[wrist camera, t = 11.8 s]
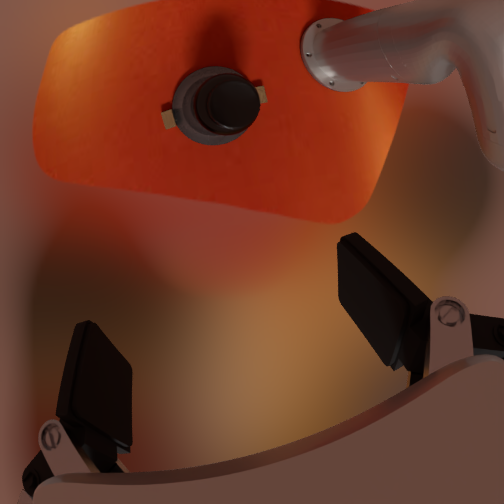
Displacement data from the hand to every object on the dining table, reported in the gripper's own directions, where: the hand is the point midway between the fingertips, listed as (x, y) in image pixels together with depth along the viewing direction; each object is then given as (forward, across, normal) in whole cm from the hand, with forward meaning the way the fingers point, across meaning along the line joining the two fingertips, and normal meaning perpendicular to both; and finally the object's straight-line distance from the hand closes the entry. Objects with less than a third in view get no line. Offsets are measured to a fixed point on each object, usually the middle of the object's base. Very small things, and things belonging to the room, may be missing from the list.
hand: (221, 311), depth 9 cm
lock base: (+30, -5, -6) cm, 31 cm away
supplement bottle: (+29, -5, -6) cm, 30 cm away
